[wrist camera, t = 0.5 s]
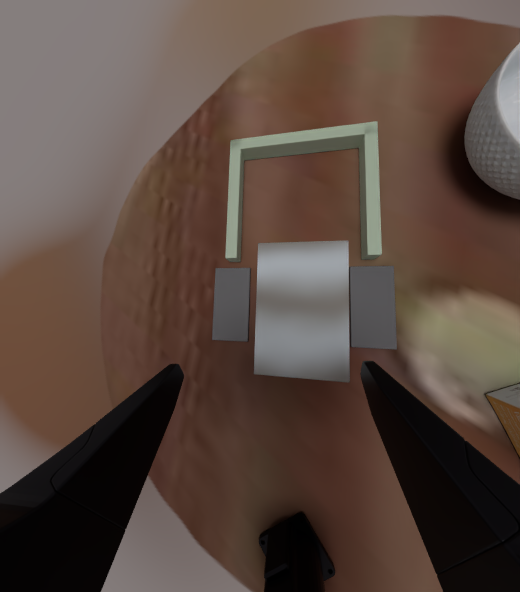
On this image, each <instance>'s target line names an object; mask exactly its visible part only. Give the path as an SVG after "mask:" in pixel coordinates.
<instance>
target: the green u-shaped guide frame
mask: <svg viewBox="0 0 520 592" xmlns="http://www.w3.org/2000/svg"><path fill="white" fill-rule="evenodd" d="M353 148H359V173H360V217H361V260H368V259H376V258H377V257H379V256H380V255H382V249H381V219H380V188H379V158H378V127H377V121H376V122H368V123H360V124H353V125H345V126H337V127H330V128H322V129H314V130H306V131H299V132H291V133H283V134H276V135H268V136H260V137H252V138H245V139H237V140H231V146H230V168H229V191H228V214H227V237H226V259H227V260H228V261H230V262H241V234H242V207H243V179H244V160H253V159H262V158H271V157H280V156H289V155H298V154H307V153H316V152H326V151H335V150H344V149H353ZM250 272H251V269H250V268H216V273H215V294H214V314H213V335H212V340H227V341H246V342H248V336H249V304H250ZM349 289H350V346H351V347H361V348H380V349H397V343H396V317H395V291H394V266H363V267H349Z"/></svg>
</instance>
